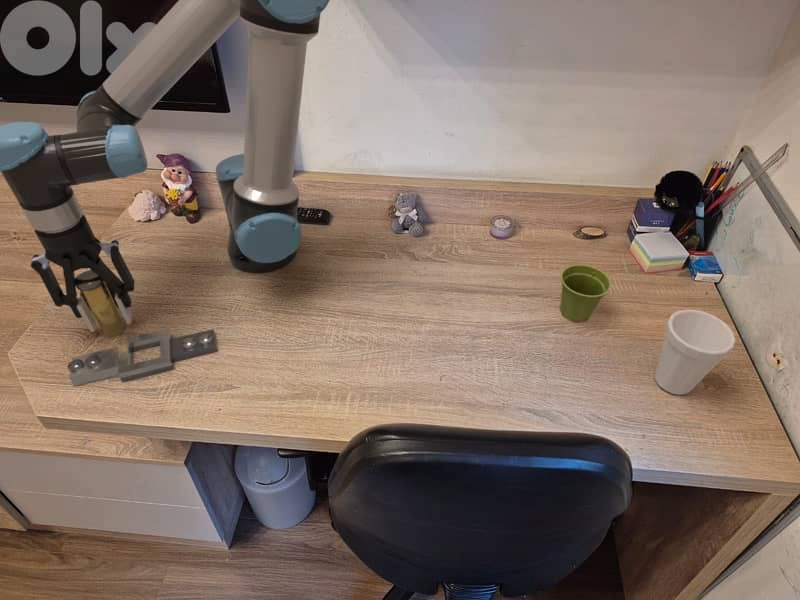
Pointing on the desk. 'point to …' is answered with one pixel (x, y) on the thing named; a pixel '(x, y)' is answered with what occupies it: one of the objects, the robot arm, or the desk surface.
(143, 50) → the robot arm
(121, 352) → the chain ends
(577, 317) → the plant pot
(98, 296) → the link pin
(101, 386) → the desk surface
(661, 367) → the cup
